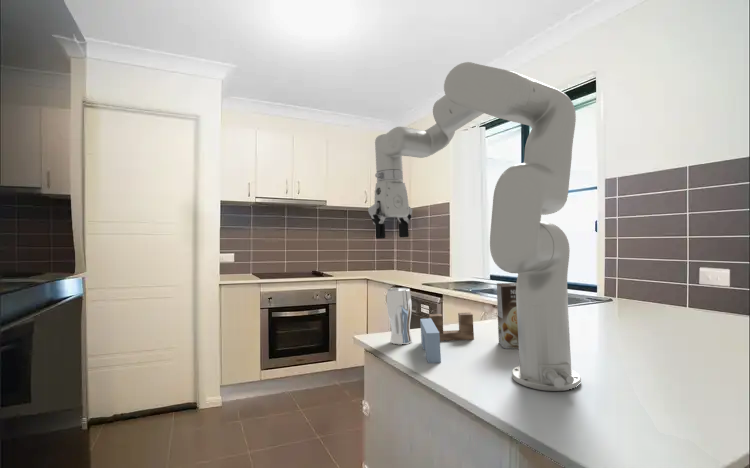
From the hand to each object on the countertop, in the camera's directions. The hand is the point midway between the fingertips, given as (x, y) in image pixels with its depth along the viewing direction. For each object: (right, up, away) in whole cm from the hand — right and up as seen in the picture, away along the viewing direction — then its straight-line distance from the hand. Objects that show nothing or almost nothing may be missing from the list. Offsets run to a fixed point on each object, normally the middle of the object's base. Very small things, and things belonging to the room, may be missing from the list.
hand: (392, 237), depth 112 cm
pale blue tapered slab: (+9, -29, -12) cm, 33 cm away
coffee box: (+33, -28, -10) cm, 44 cm away
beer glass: (+2, -30, -1) cm, 30 cm away
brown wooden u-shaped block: (+17, -29, 0) cm, 33 cm away
